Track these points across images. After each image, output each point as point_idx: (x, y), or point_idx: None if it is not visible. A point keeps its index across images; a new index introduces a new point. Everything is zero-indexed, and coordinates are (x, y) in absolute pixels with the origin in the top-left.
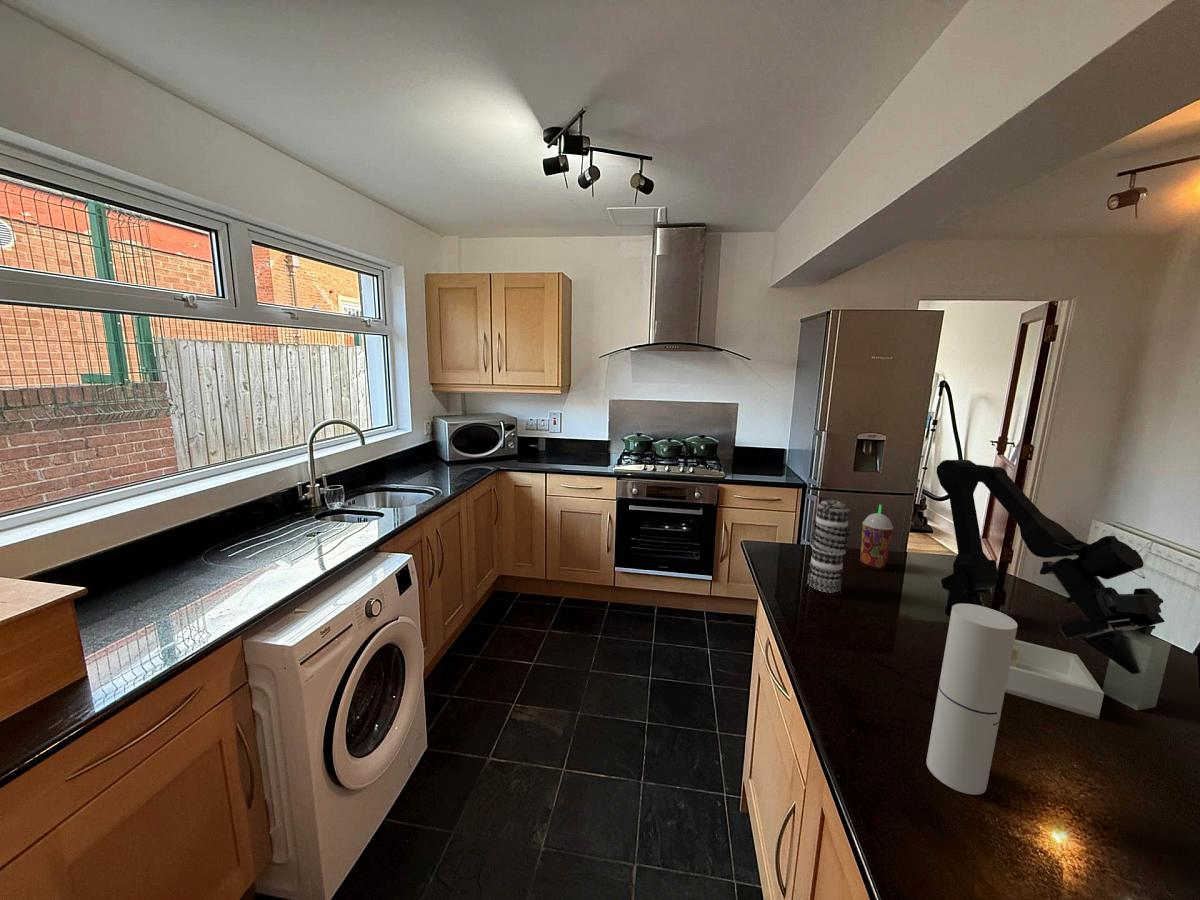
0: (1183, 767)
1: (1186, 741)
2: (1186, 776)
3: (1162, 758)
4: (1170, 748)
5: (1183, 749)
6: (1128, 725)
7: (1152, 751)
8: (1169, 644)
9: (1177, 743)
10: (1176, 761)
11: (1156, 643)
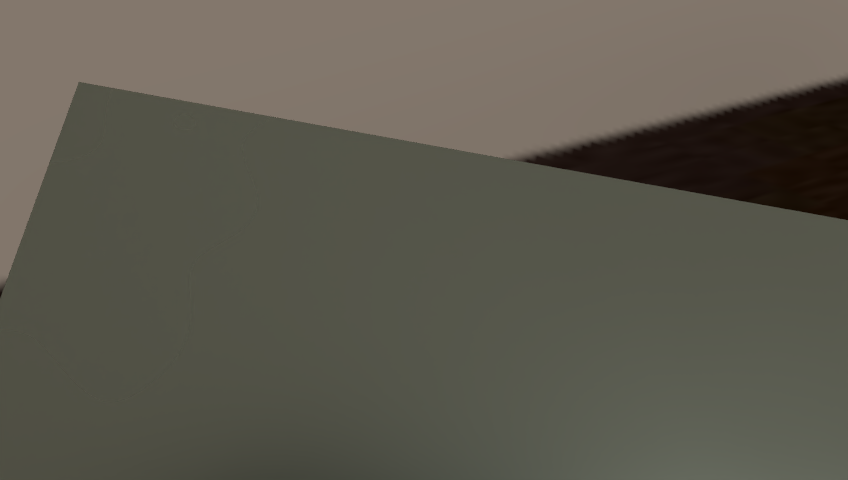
0: (793, 110)
1: (548, 164)
2: (842, 89)
3: (823, 165)
4: (702, 176)
5: (644, 149)
6: None
7: (817, 201)
8: (188, 107)
9: (618, 176)
10: (780, 134)
11: (623, 306)
